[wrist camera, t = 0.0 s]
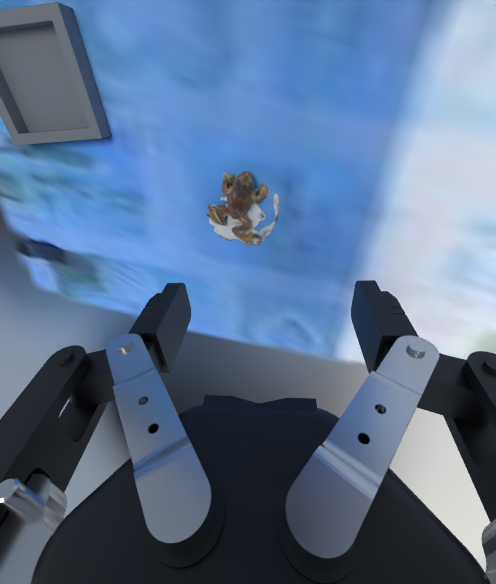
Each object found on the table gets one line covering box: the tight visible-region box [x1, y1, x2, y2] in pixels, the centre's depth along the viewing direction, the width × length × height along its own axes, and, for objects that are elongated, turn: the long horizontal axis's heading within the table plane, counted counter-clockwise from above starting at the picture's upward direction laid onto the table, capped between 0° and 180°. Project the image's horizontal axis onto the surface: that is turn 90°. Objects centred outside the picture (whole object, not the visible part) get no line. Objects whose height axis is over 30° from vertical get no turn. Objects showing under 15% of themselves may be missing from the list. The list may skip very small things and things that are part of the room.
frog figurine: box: [207, 172, 280, 245], centre depth 40 cm, size 12×12×4 cm
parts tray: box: [0, 2, 112, 145], centre depth 33 cm, size 12×12×2 cm
